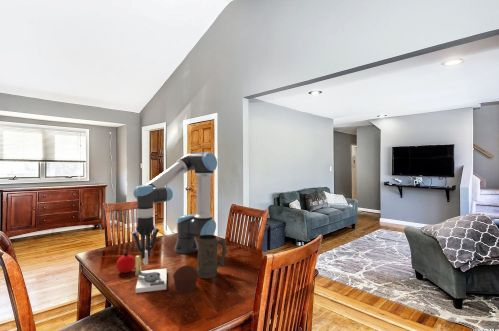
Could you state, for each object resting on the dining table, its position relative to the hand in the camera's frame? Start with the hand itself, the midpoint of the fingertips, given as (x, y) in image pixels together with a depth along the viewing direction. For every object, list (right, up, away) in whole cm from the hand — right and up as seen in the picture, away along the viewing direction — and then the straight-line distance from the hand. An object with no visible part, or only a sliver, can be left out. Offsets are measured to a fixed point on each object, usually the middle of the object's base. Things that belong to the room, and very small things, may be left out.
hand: (145, 264), depth 133 cm
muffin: (+22, -8, -10) cm, 26 cm away
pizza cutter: (+2, -5, -4) cm, 7 cm away
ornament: (-14, -8, +8) cm, 18 cm away
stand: (+4, -8, -3) cm, 9 cm away
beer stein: (+32, -8, +8) cm, 33 cm away
